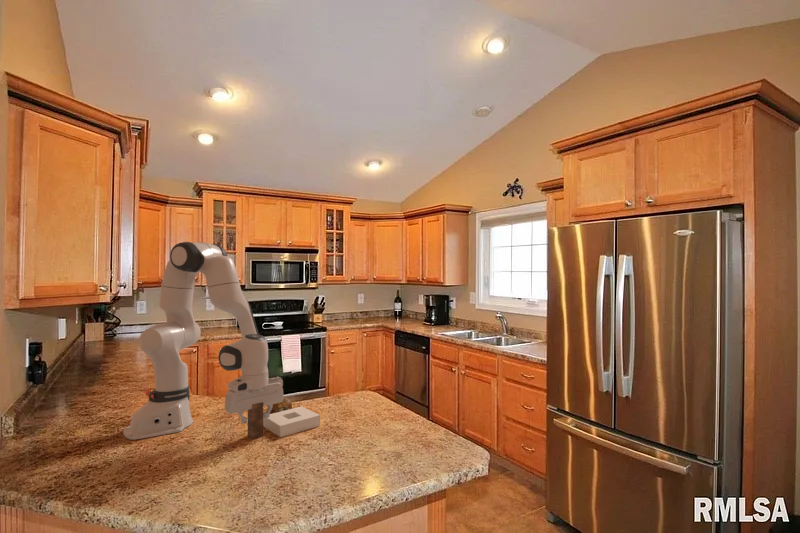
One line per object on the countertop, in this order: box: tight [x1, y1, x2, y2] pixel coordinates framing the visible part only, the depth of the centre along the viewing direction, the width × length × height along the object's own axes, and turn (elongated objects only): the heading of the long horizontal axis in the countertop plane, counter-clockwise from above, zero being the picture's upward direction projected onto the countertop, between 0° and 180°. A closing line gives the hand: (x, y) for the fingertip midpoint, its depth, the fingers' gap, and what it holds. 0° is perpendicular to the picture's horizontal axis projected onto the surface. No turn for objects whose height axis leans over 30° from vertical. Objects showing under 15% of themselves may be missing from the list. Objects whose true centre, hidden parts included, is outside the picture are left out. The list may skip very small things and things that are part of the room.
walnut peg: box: [247, 402, 264, 440], centre depth 149 cm, size 4×4×12 cm
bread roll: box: [270, 397, 293, 414], centre depth 174 cm, size 10×10×8 cm
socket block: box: [263, 406, 321, 438], centre depth 158 cm, size 16×14×4 cm
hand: (255, 420), depth 149 cm, fingers open, 7 cm apart
